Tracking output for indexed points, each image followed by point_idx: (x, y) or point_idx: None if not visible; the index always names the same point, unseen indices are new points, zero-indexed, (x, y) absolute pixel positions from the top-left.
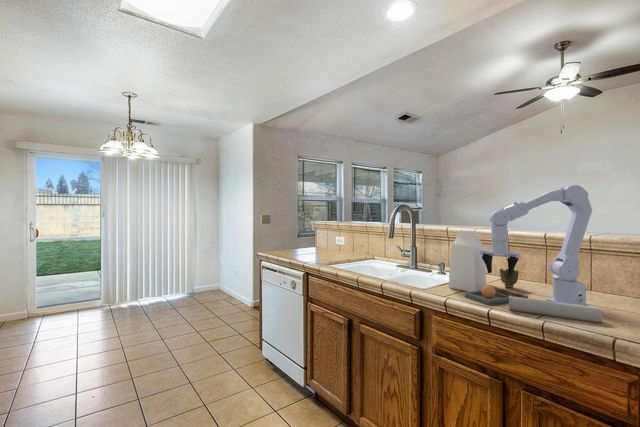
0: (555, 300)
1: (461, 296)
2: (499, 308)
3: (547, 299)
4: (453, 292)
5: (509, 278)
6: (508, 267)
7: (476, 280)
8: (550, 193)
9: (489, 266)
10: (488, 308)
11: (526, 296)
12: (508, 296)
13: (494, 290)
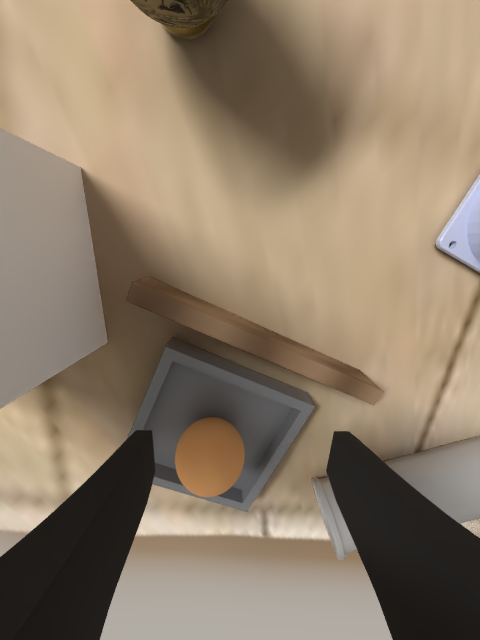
0: (478, 259)
1: (110, 456)
2: (285, 498)
3: (440, 249)
4: (40, 422)
5: None
6: (379, 600)
7: (54, 356)
8: None
9: (118, 553)
10: (257, 519)
11: (374, 399)
12: (291, 406)
13: (242, 467)
